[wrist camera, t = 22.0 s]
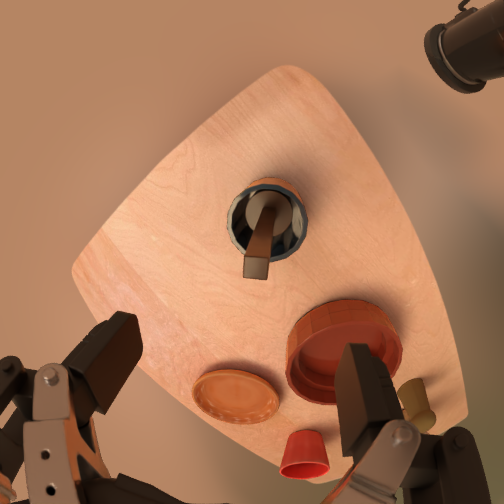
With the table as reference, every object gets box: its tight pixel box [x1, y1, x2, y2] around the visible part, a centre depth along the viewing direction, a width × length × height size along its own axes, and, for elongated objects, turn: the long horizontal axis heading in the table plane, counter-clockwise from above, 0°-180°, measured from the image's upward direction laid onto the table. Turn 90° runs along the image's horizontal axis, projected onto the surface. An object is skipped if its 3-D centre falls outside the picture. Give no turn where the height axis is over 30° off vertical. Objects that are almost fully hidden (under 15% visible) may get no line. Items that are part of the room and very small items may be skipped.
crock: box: [227, 177, 308, 262], centre depth 30 cm, size 8×8×8 cm
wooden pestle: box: [243, 189, 293, 280], centre depth 24 cm, size 5×5×19 cm
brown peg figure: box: [397, 378, 436, 433], centre depth 37 cm, size 6×6×11 cm
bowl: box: [285, 299, 403, 405], centre depth 37 cm, size 17×17×6 cm
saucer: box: [192, 369, 279, 424], centre depth 44 cm, size 16×16×3 cm
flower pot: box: [280, 430, 330, 479], centre depth 46 cm, size 11×11×10 cm
